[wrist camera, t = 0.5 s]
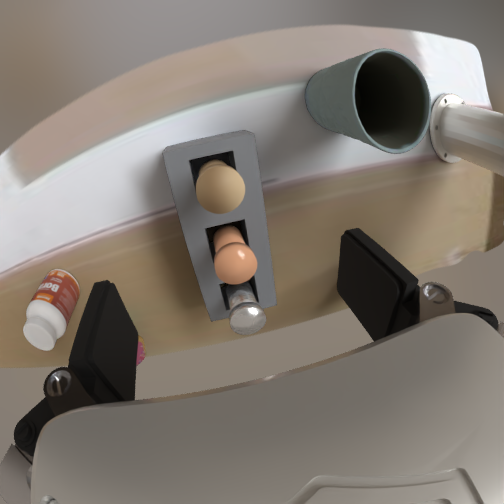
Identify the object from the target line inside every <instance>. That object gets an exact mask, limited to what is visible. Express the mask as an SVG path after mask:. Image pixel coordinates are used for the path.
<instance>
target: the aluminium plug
mask: <svg viewBox="0 0 504 504" xmlns="http://www.w3.org/2000/svg"><path fill="white" fill-rule="evenodd" d="M226 293H227V297H228V302H229V306H230V310H231V311H230V313H229V321H230V325H231V328H232V330H233V331H234V332H236V333H238V334H241V335H249V334H253V333H255V332H257V331H259V330H260V329H261V328H262V327H263V326H264V325H265V323H266V316H265V313H264V311H263V308H262V307H261V306H260V305H259V304H258V303H257V302H256V299H255V296H254V294H253V291H252V288H251V285H250V284H249V283H248V282H247V281H246V282H244V283H241V284H229V285H228V286H227V289H226Z"/></svg>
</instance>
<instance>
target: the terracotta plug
mask: <svg viewBox="0 0 504 504" xmlns="http://www.w3.org/2000/svg"><path fill="white" fill-rule="evenodd" d="M213 241H214V246H215V251H216V254H215V257H214V266H215V271H216V274H217V276H218V278H219V279H220V280H221V281H223V282H225V283H227V284H241V283H244V282H246V281H248V280H249V279H250V278H251V277H252V276H253V275H254V274H255V272H256V269H257V259H256V257H255V255H254V253H253V251H252V249H251V248H250V247H249V246H248V245H246V244H245V242H244V240H243V237H242V235H241V233H240V231H239V230H238V229H237V228H236V227H234V226H231V225H226V226H222V227H220V228H219V229H218V230H217V231H216V232H215V234H214V237H213Z"/></svg>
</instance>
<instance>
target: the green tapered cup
mask: <svg viewBox="0 0 504 504" xmlns="http://www.w3.org/2000/svg"><path fill="white" fill-rule="evenodd" d="M305 99H306V105H307V107H308V108H307V109H308V111H309V112H310V114H311V116H312V117H313V119H314V120H315V121H316V122H317V123H318V124H319V125H321V126H322V127H324V128H326V129H328V130H331V131H334V132H337V133H340V134H343V135H346V136H348V137H351V138H354V139H357V140H360V141H362V142H364V143H367V144H369V145H371V146H373V147H376V148H378V149H380V150H382V151H385V152H388V153H393V154H398V153H404V152H407V151H409V150H411V149H413V148H414V147H415V146H416V145H417V144H419V142H420V141H421V140H422V139H423V137H424V135H425V133H426V131H427V129H428V126H429V122H430V115H431V97H430V92H429V89H428V85H427V83H426V81H425V78H424V76H423V75H422V73H421V71H420V70H419V68H418V67H417V66H416V65H415V64H414V63H413V62H412V61H411V60H410V59H409V58H408V57H406V56H405V55H403V54H401V53H399V52H397V51H394V50H391V49H376V50H373V51H370V52H367V53H364V54H362V55H359V56H357V57H354V58H351V59H348V60H345V61H342V62H340V63H337V64H335V65H332V66H331V67H328V68H325V69H323V70H320V71H319V72H317V73H316V74H315V75H314V76H313V77H312V78H311V79H310V81H309V83H308V85H307V88H306V93H305Z"/></svg>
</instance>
